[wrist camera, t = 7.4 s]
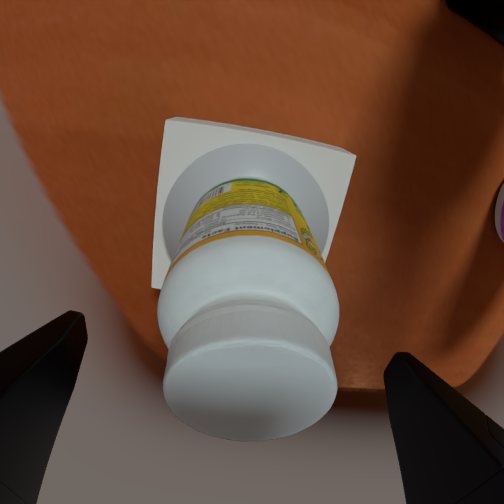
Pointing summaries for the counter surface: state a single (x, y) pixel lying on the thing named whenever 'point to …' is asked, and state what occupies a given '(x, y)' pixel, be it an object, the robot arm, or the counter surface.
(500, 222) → the supplement bottle
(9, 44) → the counter surface
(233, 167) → the scale
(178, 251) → the supplement bottle
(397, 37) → the counter surface
